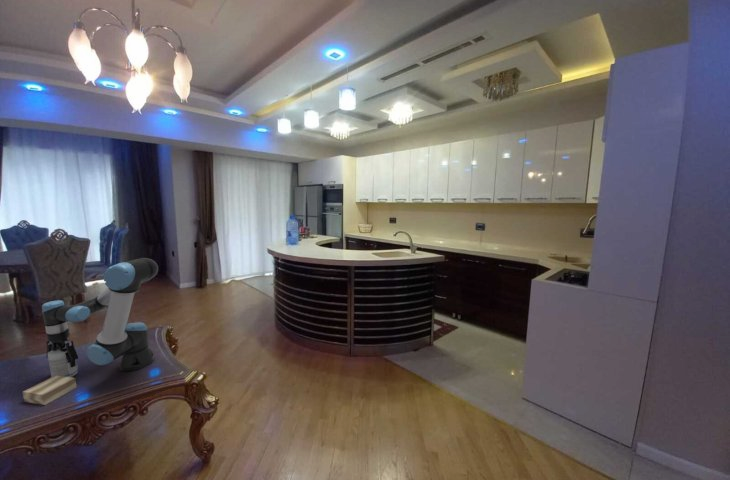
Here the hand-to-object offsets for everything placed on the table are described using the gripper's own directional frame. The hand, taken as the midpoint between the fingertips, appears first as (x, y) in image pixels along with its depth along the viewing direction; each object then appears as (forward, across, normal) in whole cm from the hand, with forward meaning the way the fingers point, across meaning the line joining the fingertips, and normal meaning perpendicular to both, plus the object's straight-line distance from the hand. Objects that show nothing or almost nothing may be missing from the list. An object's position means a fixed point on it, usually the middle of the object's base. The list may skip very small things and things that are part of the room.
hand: (64, 371), depth 144 cm
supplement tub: (+3, 0, 0) cm, 3 cm away
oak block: (+3, -10, +12) cm, 16 cm away
